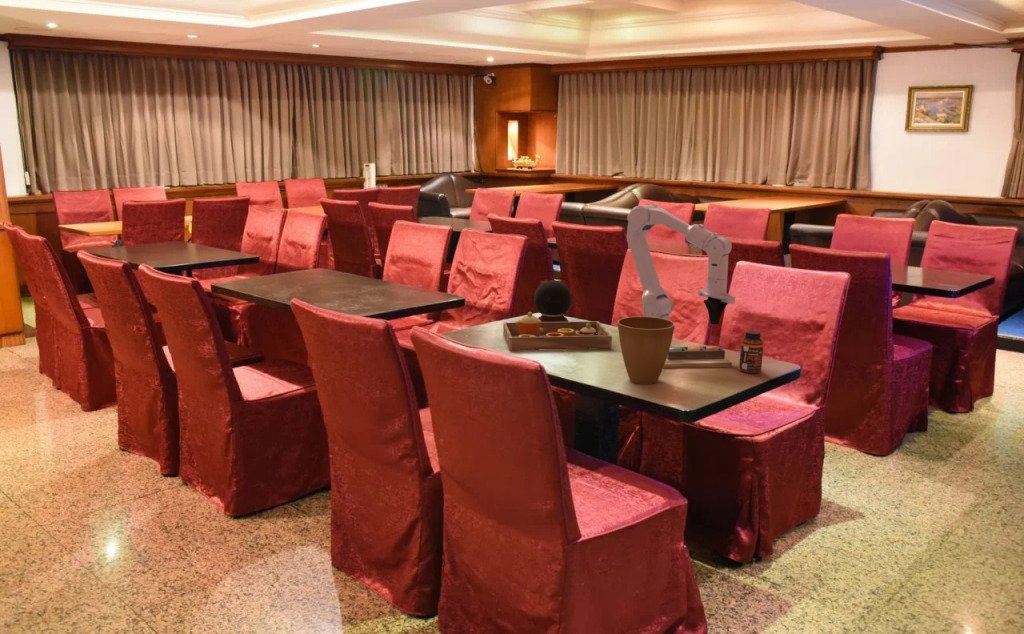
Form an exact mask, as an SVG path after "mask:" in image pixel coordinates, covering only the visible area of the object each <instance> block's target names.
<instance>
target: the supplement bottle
mask: <svg viewBox="0 0 1024 634" xmlns="http://www.w3.org/2000/svg"><path fill="white" fill-rule="evenodd" d="M761 334H762V333H761V331H760V330H759V331H758V330H751V329H750V330H746V331H745V337H744V338H742V339H741V343H740V354H739V371H741V372H742V373H746V374H759V373H761V371H762V366H763V364H762V363H763V352H764V341H763V340H762V339H761Z"/></svg>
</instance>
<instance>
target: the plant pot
mask: <svg viewBox="0 0 1024 634" xmlns="http://www.w3.org/2000/svg"><path fill="white" fill-rule="evenodd" d="M675 326H676V324H675V322H673V321H672V320H670V319H669V320H666V319H662V318H655V317H645V316H642V315H641V316H638V315H637V316H629V317H624V318H623V317H622V318H620V319H618V320H617V328H618V329H617V330H618V338H619V344H620V345H619V346H620V350H621V355H622V358H623V359H622V360H623V363H624V367H625V370H626V373H627V377H628V378H629V379H628V380H629V381H630V382H632V383H635V384H638V385H652V384H655V383H657V382H658V380H659V379H660V376H661V374H662V371H663V369H664V368H663V367H664V364H665V361H666V358H667V355H668V352H669V349H670V347H671V346H672V345H671V344H672V341H673V336H674V332H675Z"/></svg>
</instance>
